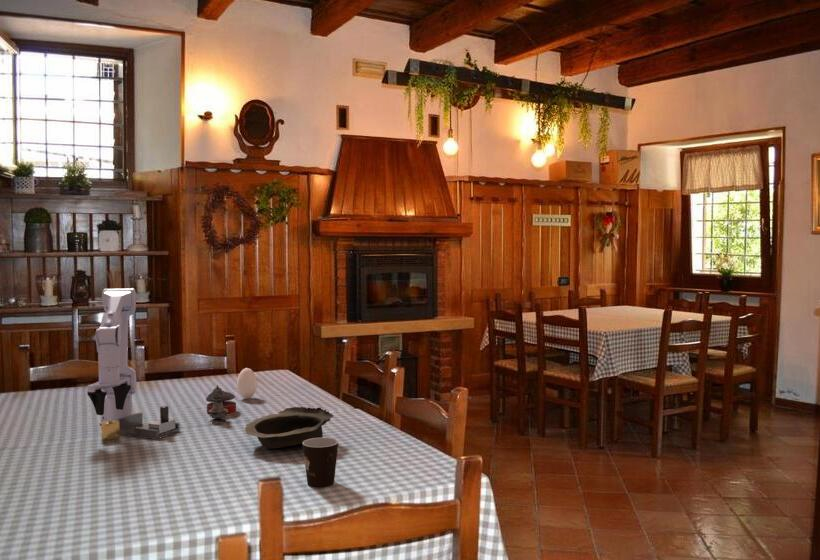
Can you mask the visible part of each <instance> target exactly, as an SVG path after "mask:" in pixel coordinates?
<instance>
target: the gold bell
mask: <svg viewBox="0 0 820 560" xmlns="http://www.w3.org/2000/svg"><path fill="white" fill-rule="evenodd" d="M100 427H101V428H100V432H101V433H100V436H101V437H100V438H101V442H115V441H118V440H120V439H119V438H121V435H120V429H119V421H112V419H108V421H106V422H102V423H101V424H100Z"/></svg>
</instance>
